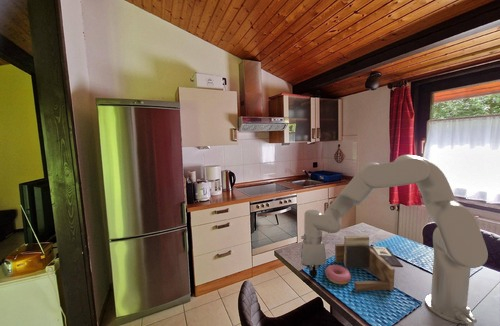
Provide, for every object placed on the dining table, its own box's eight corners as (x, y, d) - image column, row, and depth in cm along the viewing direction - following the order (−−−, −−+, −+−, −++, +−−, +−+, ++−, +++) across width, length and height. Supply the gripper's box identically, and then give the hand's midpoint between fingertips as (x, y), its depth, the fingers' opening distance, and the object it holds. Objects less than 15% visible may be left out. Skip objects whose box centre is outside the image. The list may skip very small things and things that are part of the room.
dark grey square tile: (369, 267, 104) (370, 246, 103) (346, 268, 104) (347, 246, 103) (368, 266, 105) (368, 245, 103) (345, 267, 105) (346, 245, 103)
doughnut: (350, 289, 90) (350, 280, 89) (323, 282, 95) (323, 273, 94) (351, 274, 99) (351, 266, 99) (326, 268, 104) (326, 260, 104)
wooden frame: (393, 289, 89) (395, 255, 87) (356, 290, 89) (357, 256, 87) (365, 259, 110) (366, 232, 109) (335, 260, 110) (335, 233, 109)
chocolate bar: (382, 264, 105) (370, 246, 123) (382, 266, 106) (370, 247, 123) (402, 265, 104) (387, 247, 121) (402, 267, 104) (387, 248, 121)
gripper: (298, 242, 91) (298, 282, 93) (333, 241, 91) (332, 281, 93) (294, 235, 99) (294, 272, 101) (326, 234, 99) (326, 271, 101)
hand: (313, 276), depth 97 cm, fingers closed
